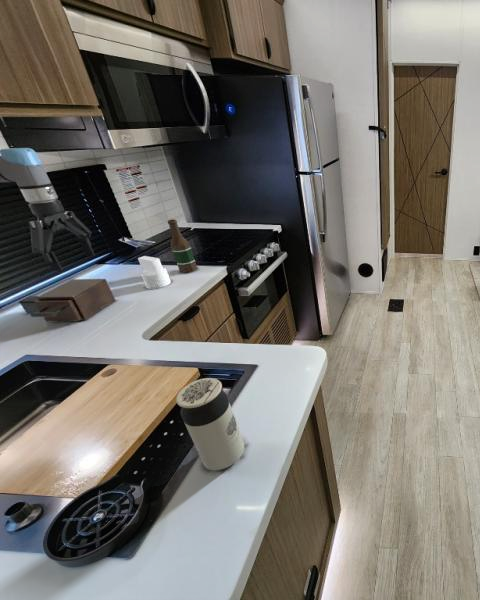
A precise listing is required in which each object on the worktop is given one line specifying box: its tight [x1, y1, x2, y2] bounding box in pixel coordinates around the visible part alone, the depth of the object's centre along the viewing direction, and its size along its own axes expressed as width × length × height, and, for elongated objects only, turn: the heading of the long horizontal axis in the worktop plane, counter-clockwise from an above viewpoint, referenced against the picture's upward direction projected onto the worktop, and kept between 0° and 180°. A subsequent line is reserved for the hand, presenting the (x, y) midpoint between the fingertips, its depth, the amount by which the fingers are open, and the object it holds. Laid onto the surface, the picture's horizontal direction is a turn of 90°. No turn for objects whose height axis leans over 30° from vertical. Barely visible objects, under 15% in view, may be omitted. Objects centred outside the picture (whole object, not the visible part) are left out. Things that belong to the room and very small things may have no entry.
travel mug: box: [175, 377, 245, 471], centre depth 66 cm, size 8×8×18 cm
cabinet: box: [36, 278, 117, 321], centre depth 122 cm, size 15×13×10 cm
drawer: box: [30, 299, 82, 322], centre depth 118 cm, size 18×11×8 cm, turn 1°
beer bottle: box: [167, 219, 198, 274], centre depth 151 cm, size 8×8×24 cm
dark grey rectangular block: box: [18, 295, 40, 315], centre depth 123 cm, size 4×7×5 cm, turn 91°
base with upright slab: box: [137, 255, 172, 290], centre depth 141 cm, size 9×9×12 cm
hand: (75, 262), depth 116 cm, fingers open, 13 cm apart
